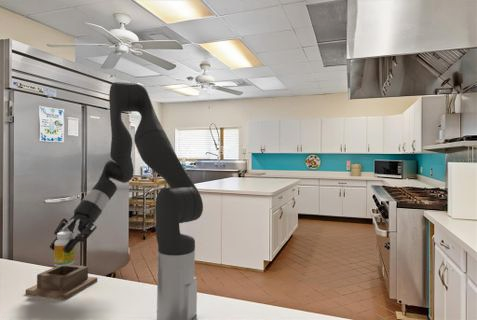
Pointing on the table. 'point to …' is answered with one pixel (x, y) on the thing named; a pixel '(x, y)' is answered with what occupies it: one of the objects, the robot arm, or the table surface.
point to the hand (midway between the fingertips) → (58, 250)
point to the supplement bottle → (59, 254)
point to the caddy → (62, 282)
